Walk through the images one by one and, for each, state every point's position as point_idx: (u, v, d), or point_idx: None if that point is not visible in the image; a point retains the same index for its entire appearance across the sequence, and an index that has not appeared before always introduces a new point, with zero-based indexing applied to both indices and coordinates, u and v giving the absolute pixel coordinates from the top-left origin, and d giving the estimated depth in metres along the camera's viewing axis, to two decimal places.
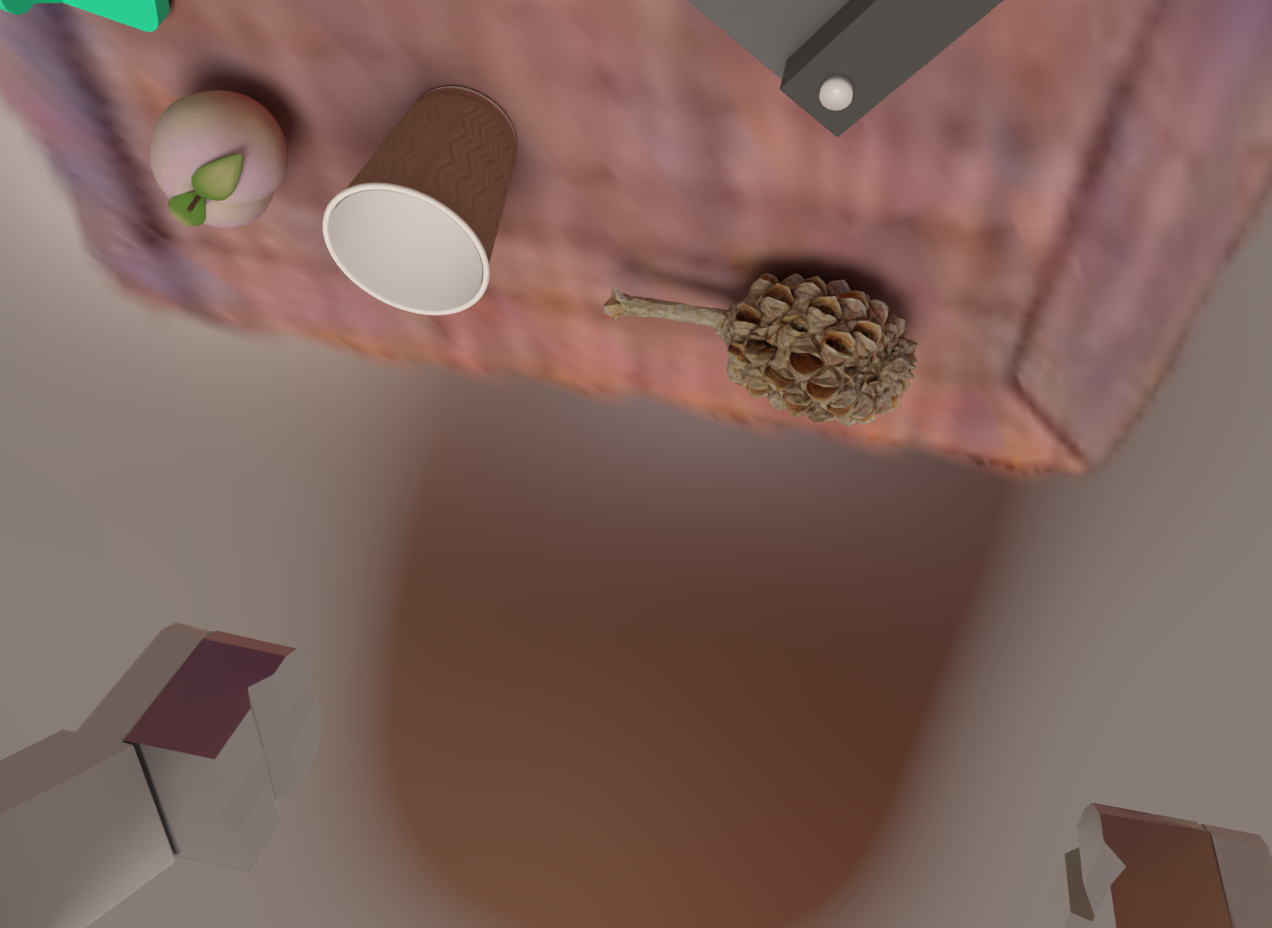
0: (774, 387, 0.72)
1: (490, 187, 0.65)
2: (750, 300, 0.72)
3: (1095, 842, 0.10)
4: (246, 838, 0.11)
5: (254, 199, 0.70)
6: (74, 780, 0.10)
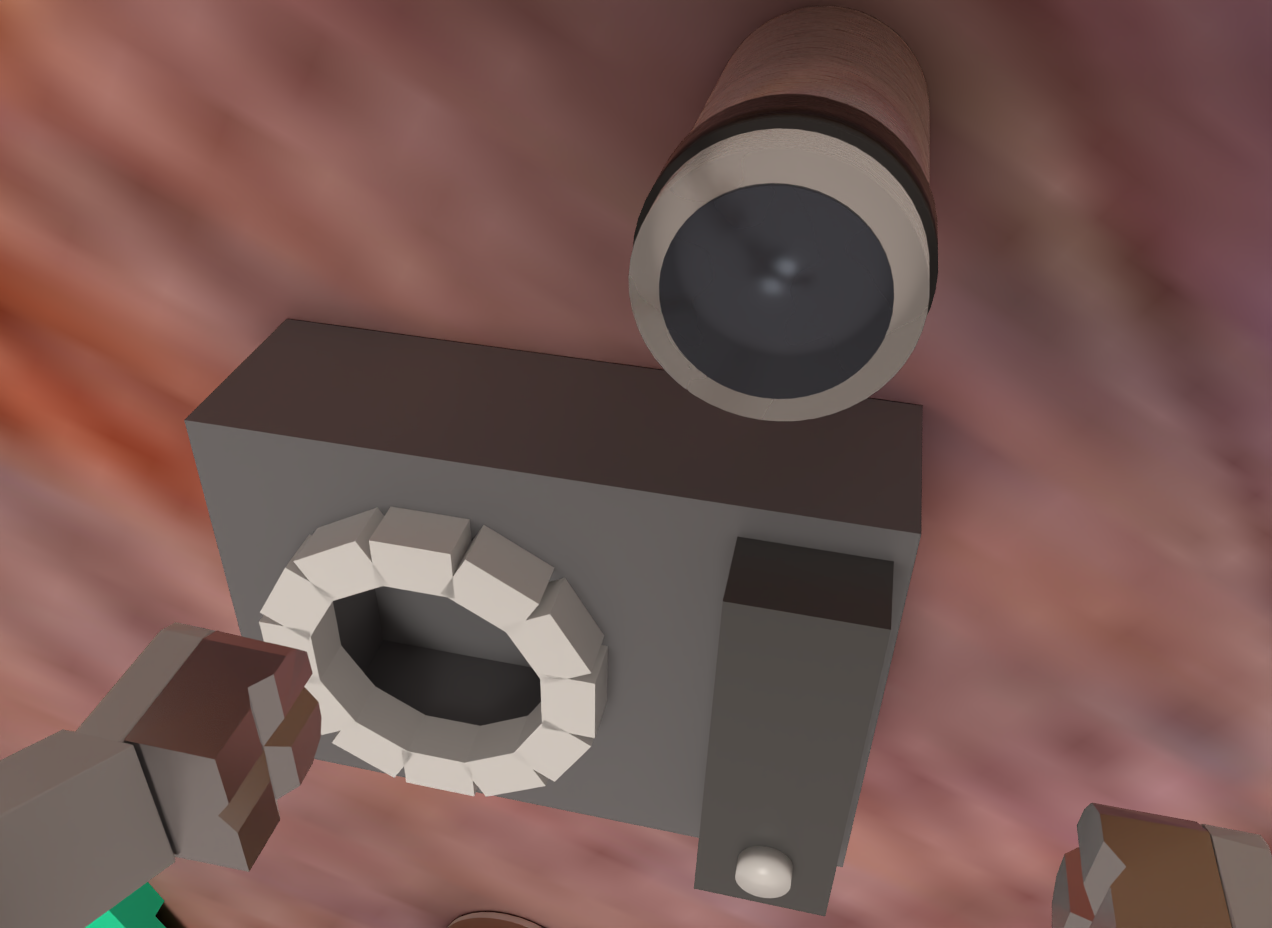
0: None
1: None
2: None
3: (1095, 844, 0.10)
4: (246, 838, 0.11)
5: None
6: (75, 780, 0.10)
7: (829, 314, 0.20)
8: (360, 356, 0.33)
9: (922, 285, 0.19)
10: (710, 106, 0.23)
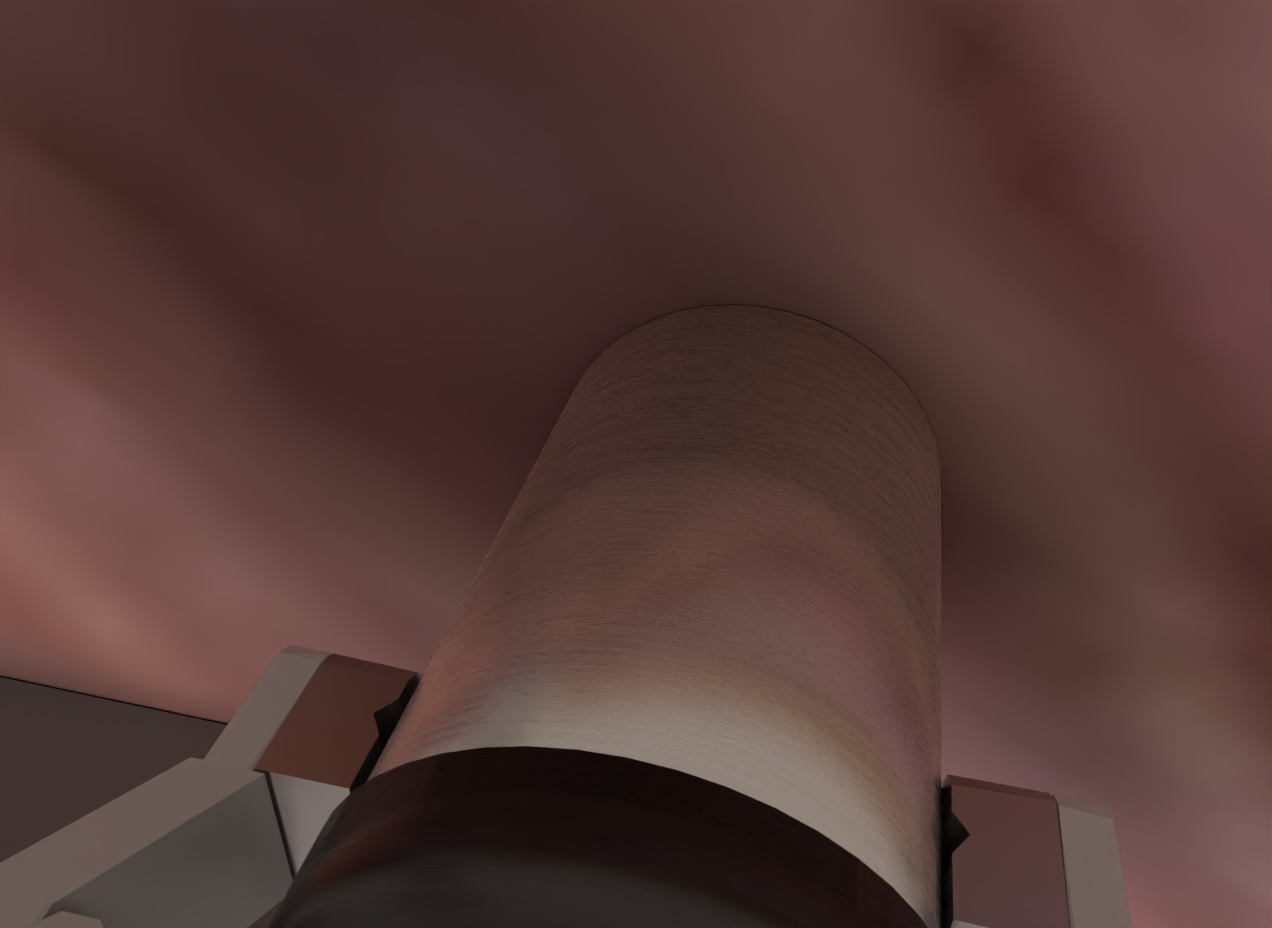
0: None
1: None
2: None
3: (947, 813, 0.10)
4: None
5: None
6: (209, 811, 0.10)
7: None
8: (38, 755, 0.21)
9: None
10: (470, 610, 0.11)
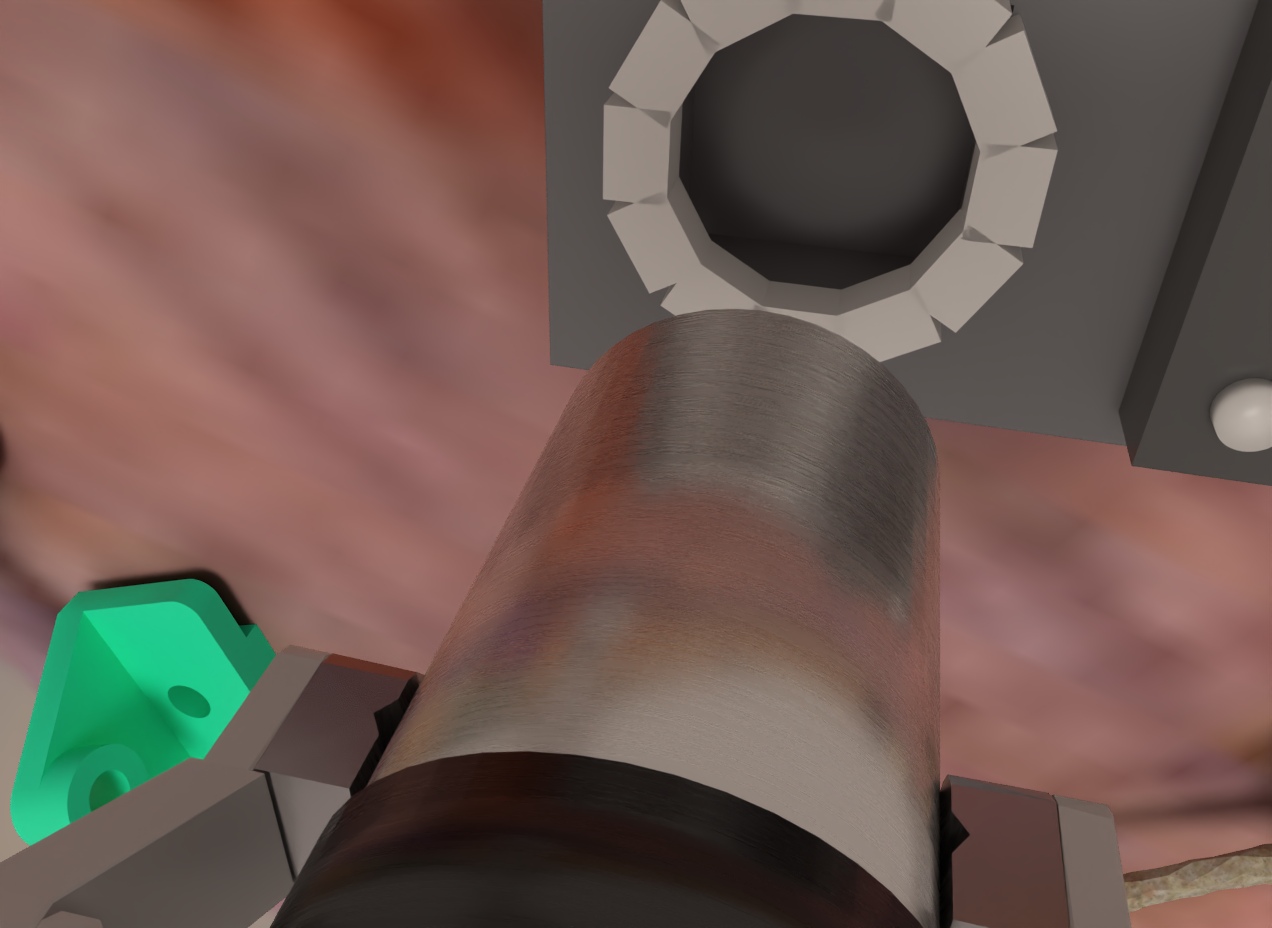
0: None
1: None
2: None
3: (947, 814, 0.10)
4: None
5: None
6: (209, 810, 0.10)
7: None
8: None
9: None
10: (470, 615, 0.11)
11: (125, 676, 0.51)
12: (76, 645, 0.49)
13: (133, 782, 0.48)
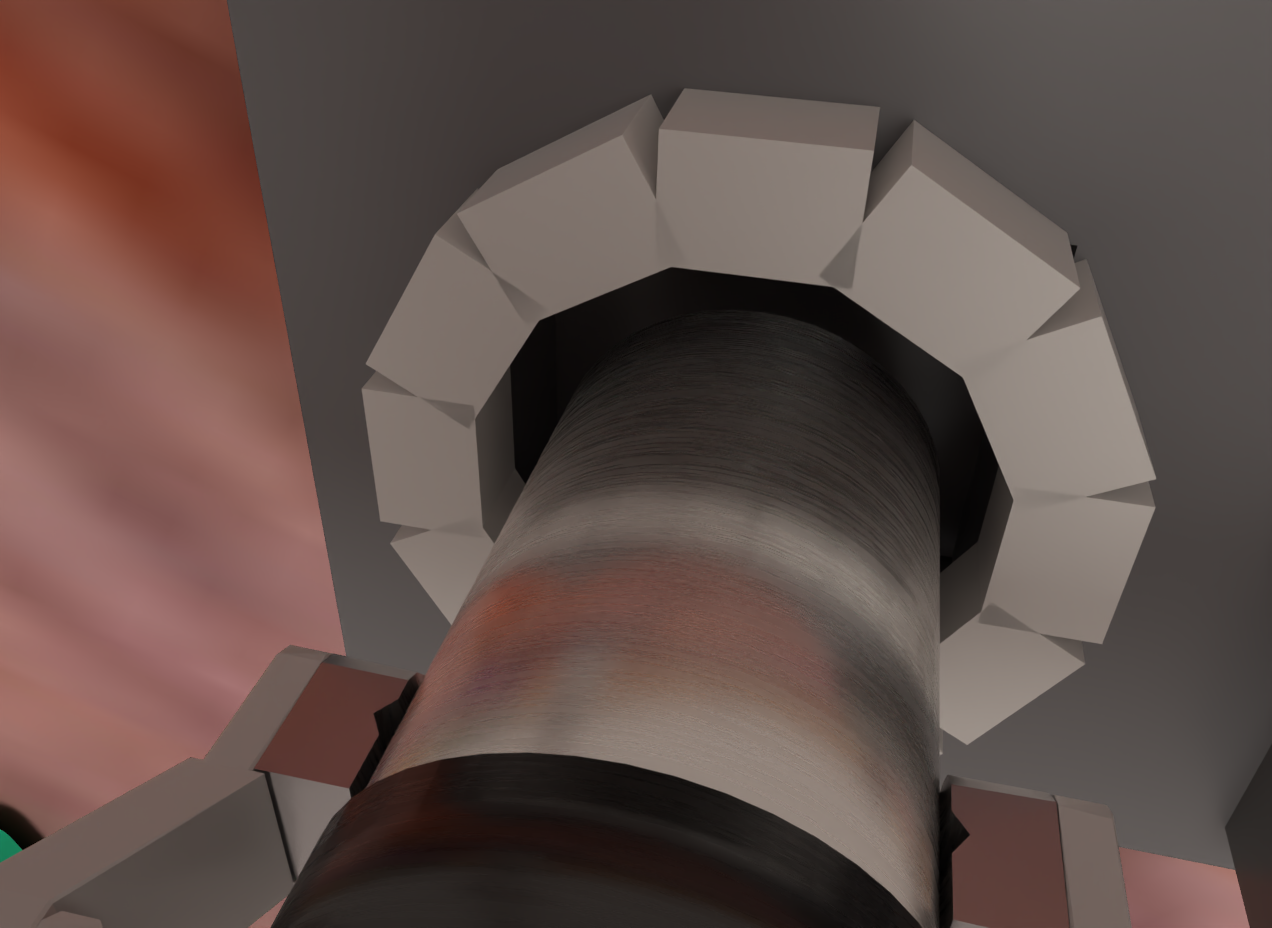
0: None
1: None
2: None
3: (946, 812, 0.10)
4: None
5: None
6: (210, 810, 0.10)
7: None
8: None
9: None
10: (470, 616, 0.11)
11: None
12: None
13: None
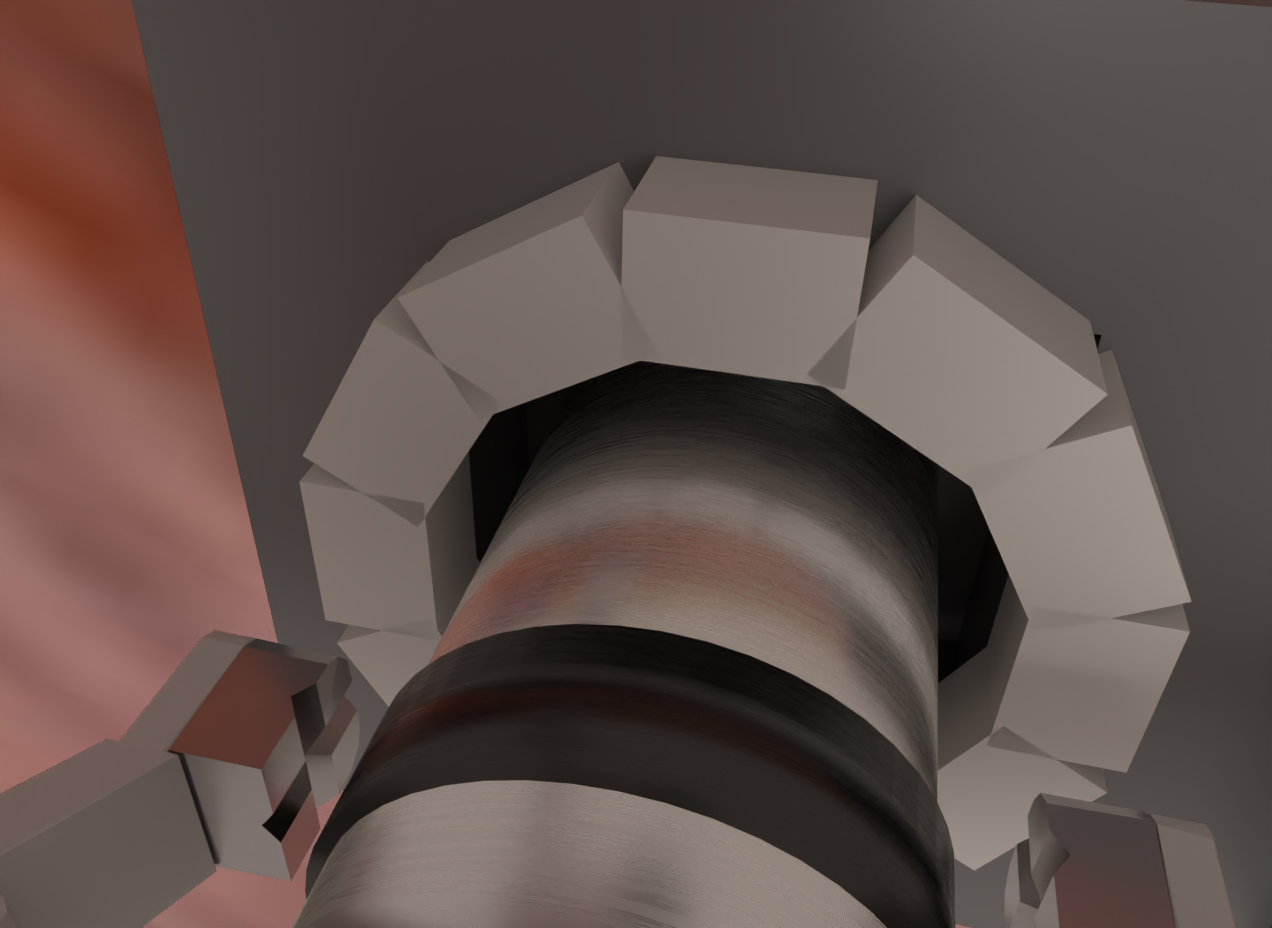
0: None
1: None
2: None
3: (1042, 832, 0.10)
4: (289, 848, 0.11)
5: None
6: (121, 791, 0.10)
7: None
8: None
9: None
10: (512, 525, 0.12)
11: None
12: None
13: None
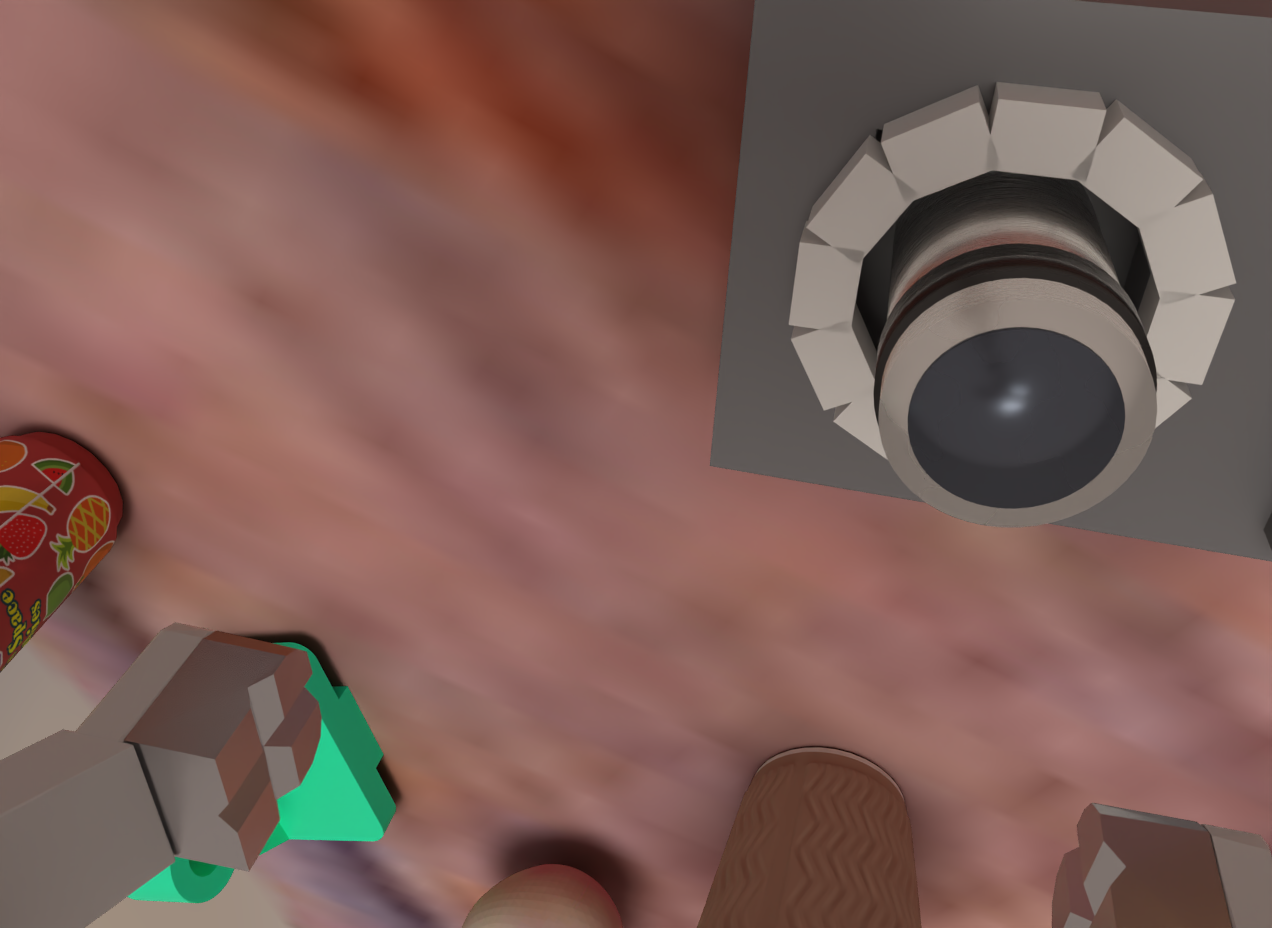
0: None
1: (882, 895, 0.41)
2: None
3: (1095, 842, 0.10)
4: (246, 838, 0.11)
5: None
6: (75, 780, 0.10)
7: (1061, 437, 0.22)
8: None
9: (1150, 416, 0.21)
10: (928, 243, 0.25)
11: None
12: None
13: None
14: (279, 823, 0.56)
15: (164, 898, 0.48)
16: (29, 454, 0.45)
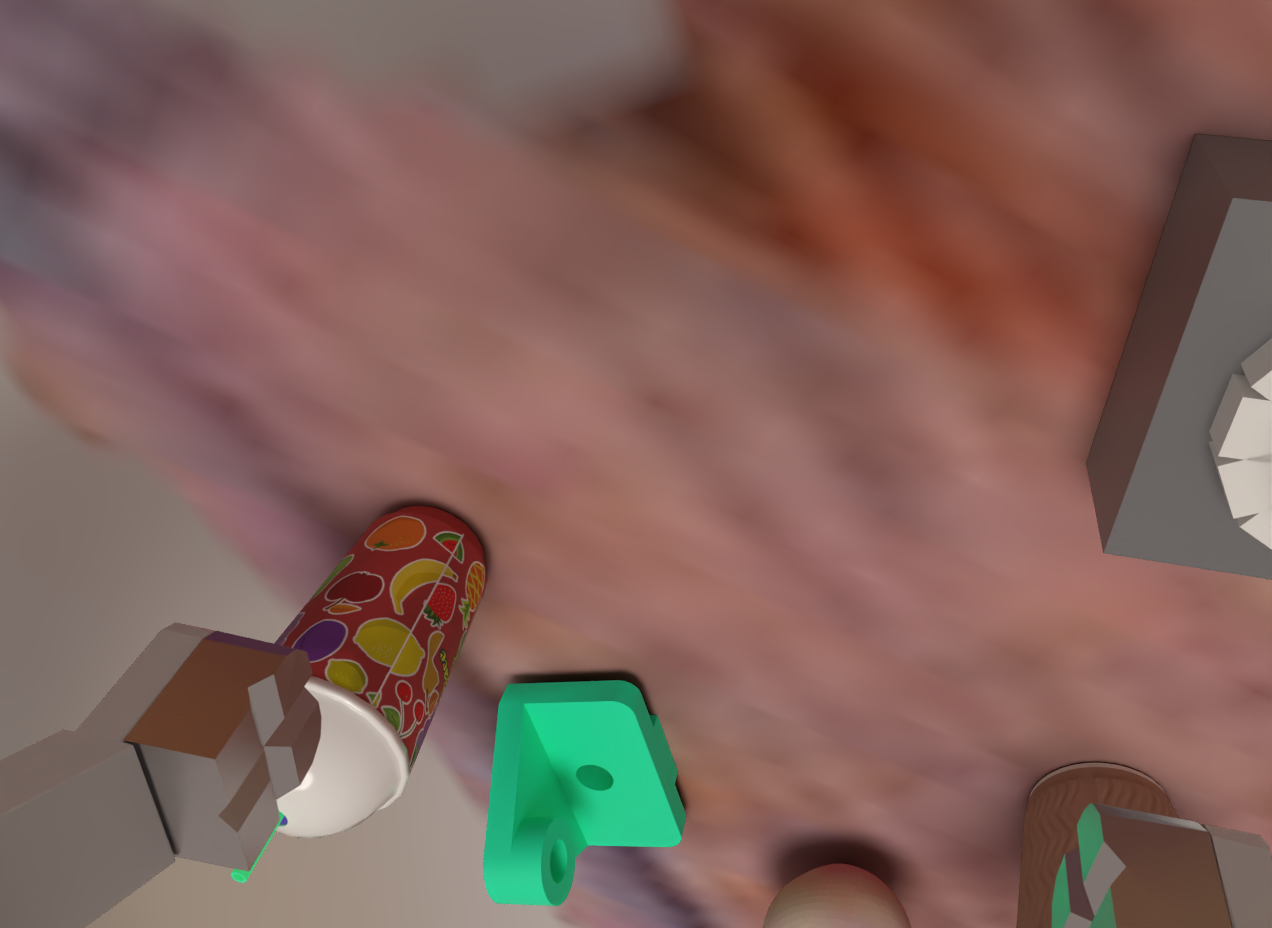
0: None
1: None
2: None
3: (1095, 842, 0.10)
4: (246, 838, 0.11)
5: None
6: (75, 780, 0.10)
7: None
8: None
9: None
10: None
11: (545, 755, 0.61)
12: (522, 733, 0.58)
13: (568, 848, 0.58)
14: (581, 832, 0.64)
15: (530, 902, 0.56)
16: (427, 529, 0.53)
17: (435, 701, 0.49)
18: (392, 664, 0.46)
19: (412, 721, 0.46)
